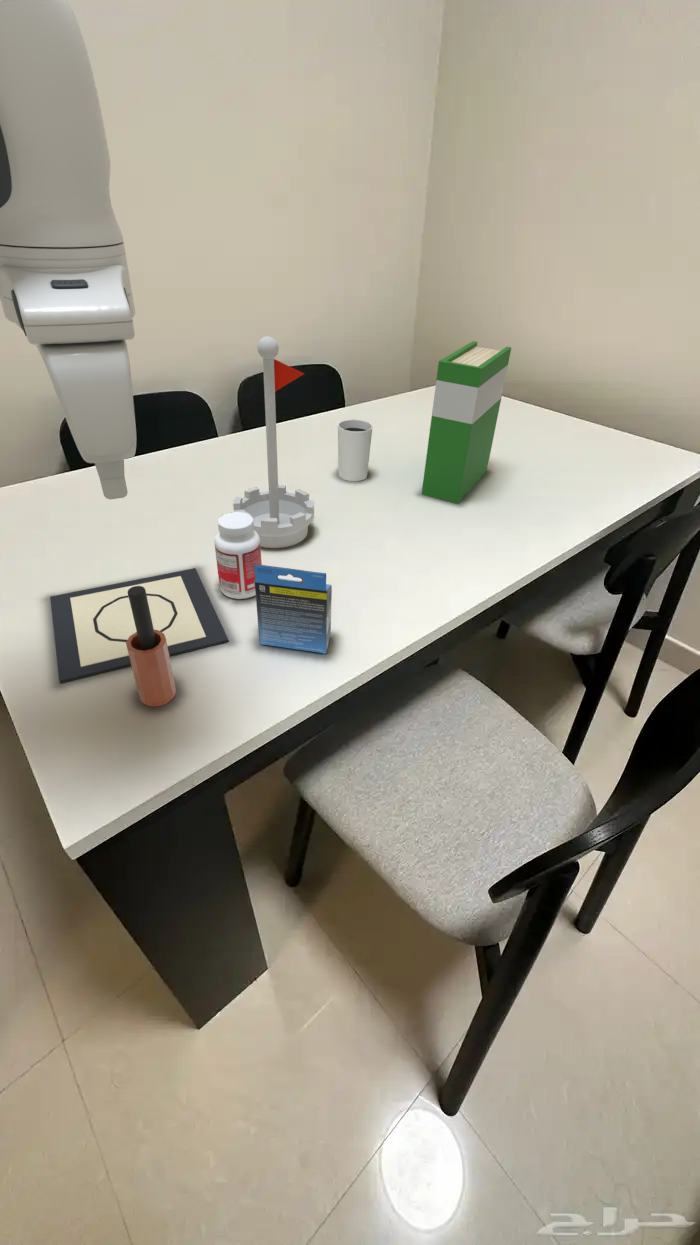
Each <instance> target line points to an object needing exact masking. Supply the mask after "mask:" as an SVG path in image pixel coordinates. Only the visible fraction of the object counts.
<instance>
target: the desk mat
mask: <svg viewBox="0 0 700 1245" xmlns="http://www.w3.org/2000/svg"><path fill="white" fill-rule="evenodd" d="M134 586H142V587H144V588H145V590H146V595H147V600H148V604H149V609H150V614H151V619H152V623H153V628H154V630H158V631H160V632H162V633H164V635H165V638H166V642H167V647H168V652H169V657H172V656H177V655H181V654H185V653H189V652H193V651H197V650H200V649H205V648H209V647H213V646H217V645H221V644H226V643H228V642H229V638H228V635H227V633H226V631H225V629H224V626H223V625H222V622H221V621H220V619H219V616H218V614H217V612H216V609H215V608H214V605H213V603H212V601H211V599H210V596H209V594H208V593H207V590H206V588H205V585H204V584H203V581H202V579H201V577H200V575H199V573H198V570H197V569H196V567H194V568H188V569H184V570H183V569H182V570H178V571H173V572H168V573H164V574H158V575H153V576H148V577H143V578H137V579H132V580H128V581H127V580H126V581H122V582H117V583H112V584H106V585H103V586H96V587H92V588H86V589H81V590H77V591H71V592H66V593H60V594H56V595H51V596H49V600H50V601H49V602H50V610H51V618H52V627H53V635H54V636H53V637H54V645H55V653H56V654H55V656H56V662H57V663H56V665H57V673H58V681H59V683H60V684H63V683H67V682H71V681H75V680H79V679H83V678H87V677H91V676H96V675H99V674H104V673H109V672H111V671H115V670H119V669H124V668H127V667H132V665H131V662H130V658H129V654H128V650H127V646H126V641H127V640H128V638H129V637H130V636H131V635H133V634H134V633H136V632H137V630H136V626H135V622H134V618H133V613H132V609H131V605H130V601H129V596H128V590H129V589H130V588H131V587H134Z"/></svg>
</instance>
